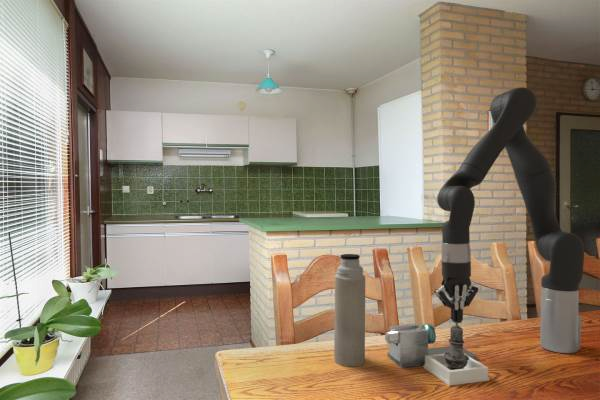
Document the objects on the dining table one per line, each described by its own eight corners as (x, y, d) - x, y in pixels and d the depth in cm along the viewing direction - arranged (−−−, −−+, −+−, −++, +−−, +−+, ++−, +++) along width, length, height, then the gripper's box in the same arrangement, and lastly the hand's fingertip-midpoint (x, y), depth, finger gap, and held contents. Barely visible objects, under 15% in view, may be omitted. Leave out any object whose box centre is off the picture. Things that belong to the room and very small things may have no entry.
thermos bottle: (346, 352, 123) (347, 251, 122) (370, 360, 118) (371, 254, 117) (328, 360, 117) (328, 254, 117) (352, 369, 112) (353, 258, 111)
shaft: (425, 339, 122) (425, 321, 122) (435, 346, 117) (435, 327, 117) (383, 344, 119) (383, 325, 118) (392, 350, 114) (392, 331, 114)
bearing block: (458, 348, 127) (458, 318, 126) (476, 359, 119) (477, 327, 119) (387, 356, 121) (387, 325, 120) (402, 367, 113) (402, 334, 113)
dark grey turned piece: (470, 377, 106) (471, 327, 106) (444, 374, 107) (445, 325, 107) (466, 367, 112) (467, 319, 112) (442, 365, 113) (442, 318, 113)
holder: (461, 362, 116) (461, 351, 116) (489, 380, 106) (489, 367, 106) (423, 367, 113) (423, 355, 113) (449, 385, 103) (449, 372, 103)
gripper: (467, 255, 127) (468, 316, 128) (427, 258, 123) (428, 321, 124) (485, 259, 120) (486, 323, 121) (443, 263, 116) (444, 329, 117)
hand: (456, 322), depth 122 cm, fingers closed
